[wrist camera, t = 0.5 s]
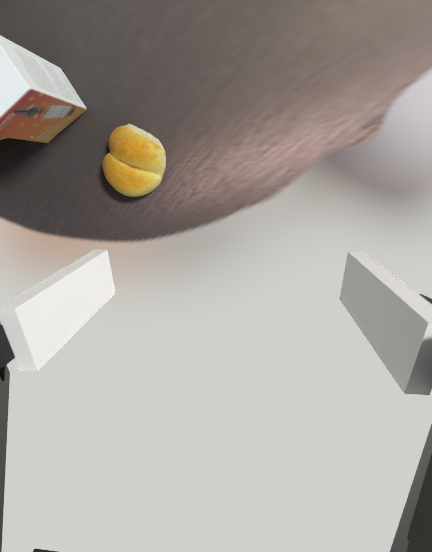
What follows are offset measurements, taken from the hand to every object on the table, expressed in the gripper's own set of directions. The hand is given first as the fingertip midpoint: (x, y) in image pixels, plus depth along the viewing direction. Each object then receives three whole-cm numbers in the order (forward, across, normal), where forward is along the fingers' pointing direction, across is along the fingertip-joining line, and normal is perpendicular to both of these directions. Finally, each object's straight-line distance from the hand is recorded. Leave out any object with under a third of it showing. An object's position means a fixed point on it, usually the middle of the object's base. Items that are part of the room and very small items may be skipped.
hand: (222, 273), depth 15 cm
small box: (+26, -25, +13) cm, 39 cm away
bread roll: (+26, -14, +6) cm, 31 cm away
